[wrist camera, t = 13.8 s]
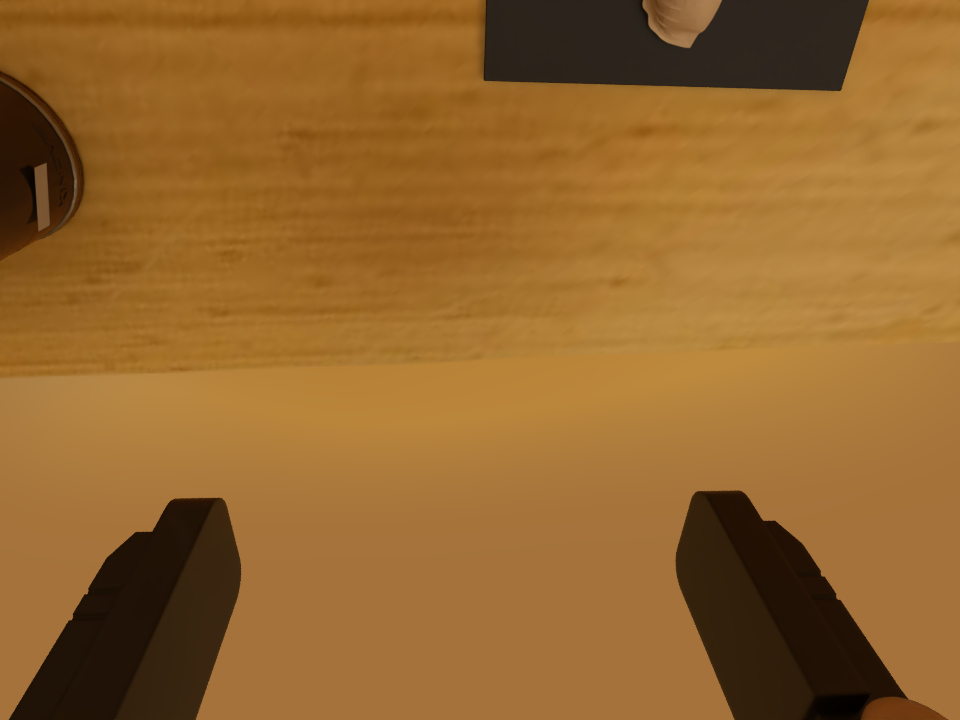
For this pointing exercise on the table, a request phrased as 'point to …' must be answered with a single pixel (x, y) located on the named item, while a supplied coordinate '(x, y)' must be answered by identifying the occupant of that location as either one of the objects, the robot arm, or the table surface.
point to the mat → (651, 61)
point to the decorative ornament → (680, 19)
